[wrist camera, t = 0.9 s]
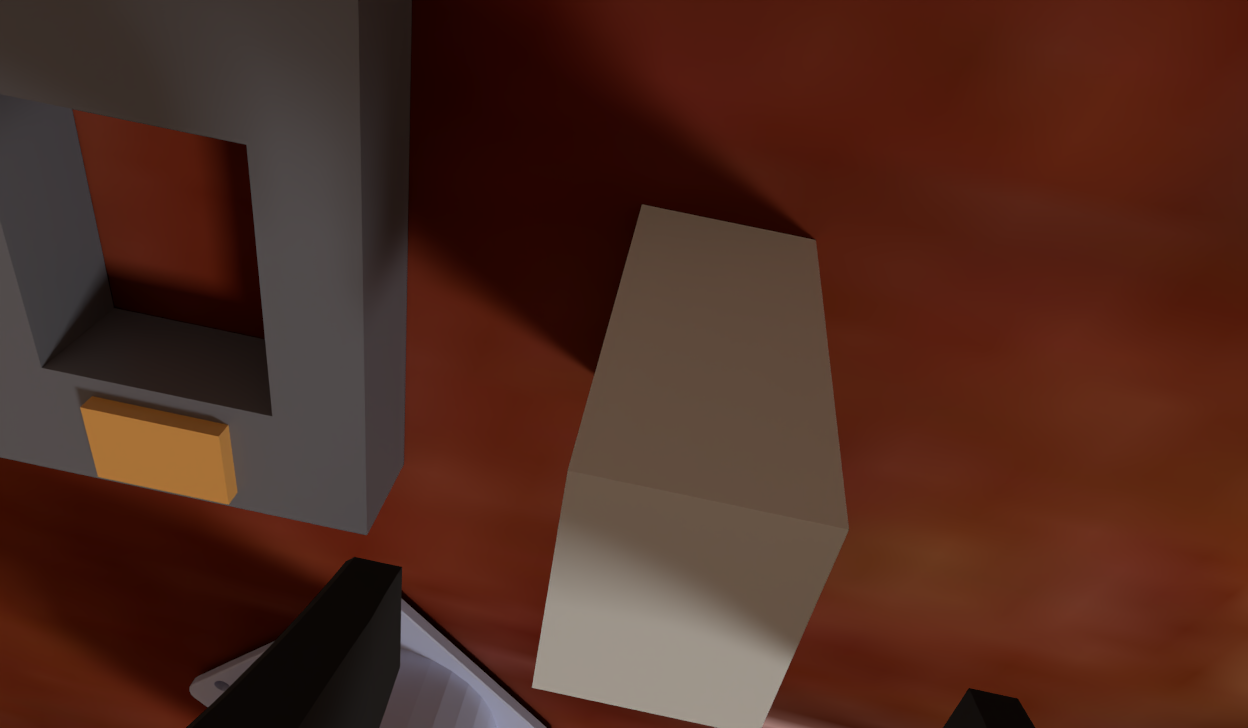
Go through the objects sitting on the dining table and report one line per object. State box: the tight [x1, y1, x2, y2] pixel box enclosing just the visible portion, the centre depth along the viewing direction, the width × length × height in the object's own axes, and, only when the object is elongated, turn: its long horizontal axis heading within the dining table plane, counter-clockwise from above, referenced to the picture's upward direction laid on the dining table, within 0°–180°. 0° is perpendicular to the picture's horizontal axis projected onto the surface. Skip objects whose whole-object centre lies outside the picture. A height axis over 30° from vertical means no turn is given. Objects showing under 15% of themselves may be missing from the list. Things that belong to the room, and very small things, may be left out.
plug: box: [532, 204, 849, 728], centre depth 15 cm, size 4×4×8 cm
